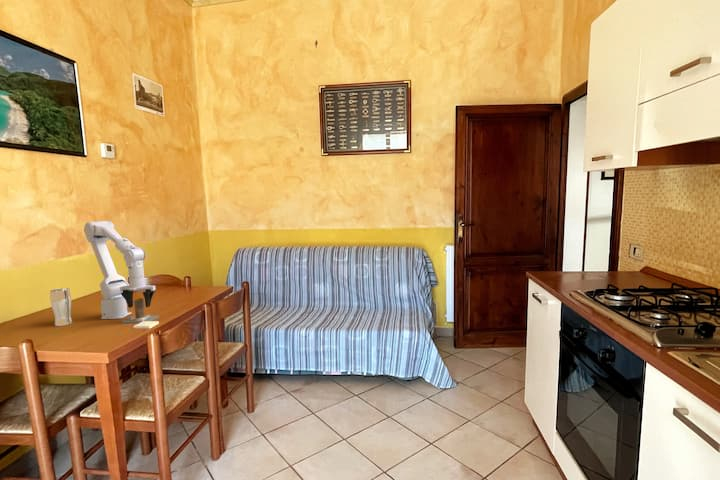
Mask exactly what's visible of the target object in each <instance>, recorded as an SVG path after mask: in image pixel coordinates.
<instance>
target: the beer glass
mask: <svg viewBox="0 0 720 480" xmlns="http://www.w3.org/2000/svg"><path fill="white" fill-rule="evenodd" d="M70 290H71V289H70V288H69V287H61V288H55V289H50V290H49V299H50V300H49V301H50V307H51V308H52V311H53V315H54V326H55V327H62V326H66V325H71V324H72V323H73V319H72V316H71V309H72V296H71V291H70Z"/></svg>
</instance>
